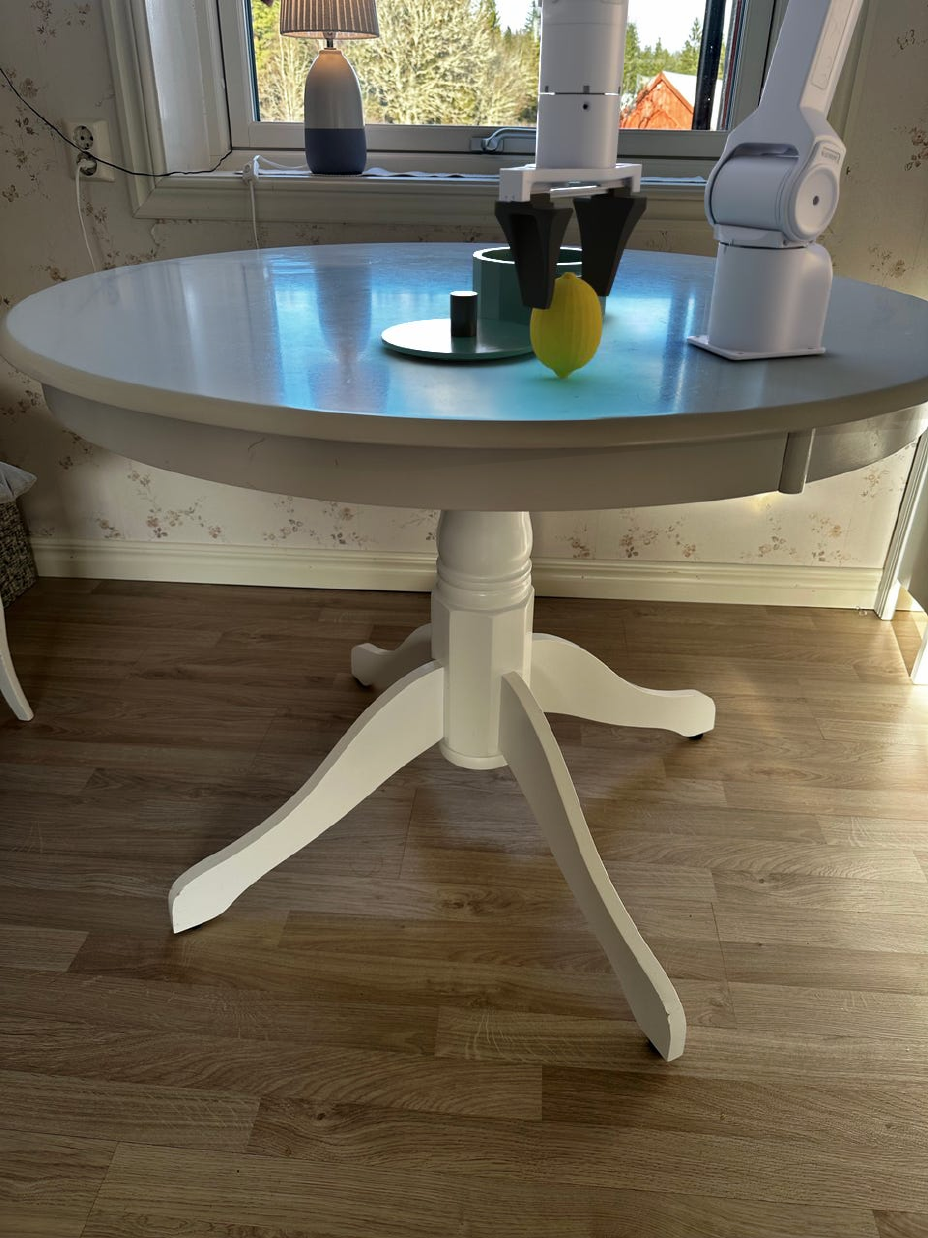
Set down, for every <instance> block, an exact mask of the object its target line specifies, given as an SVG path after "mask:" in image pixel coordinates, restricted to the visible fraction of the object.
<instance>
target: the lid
mask: <svg viewBox="0 0 928 1238" xmlns="http://www.w3.org/2000/svg"><path fill="white" fill-rule="evenodd" d="M477 299H478V294H477V293H475V292H472V291H469V290H466V291H465V290H461V291H460V290H459V291H452V292H450V294H449V318H441V319H440V318H439V319H426V320H418V321H417V320H416V321H412V322H405V323H401V324H398V325H393V326H391V327H389V328H387V329H385V330H384V331H383V332H382V333H381V343H382V344H383V346H385V347H387V348H388V349H390V350H393V351H396V352H399V353H402V354H406V355H411V356H417V357H421V358H425V359H429V360H430V359H432V360H439V361H450V362H478V361H481V362H482V361H491V360H499V359H505V358H509V357H514V356H520V355H525V354H528V353H532V352H534V350H533V347H532V343H531V337H530V326H526V325H523V324H518V323H512V322H505V321H497V320H484V319H477Z"/></svg>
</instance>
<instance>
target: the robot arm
mask: <svg viewBox="0 0 928 1238" xmlns="http://www.w3.org/2000/svg"><path fill="white" fill-rule="evenodd" d="M863 3H864V0H788V3H787V6H786V11H785V14H784V17H783V21H782V24H781V27H780V31H779V35H778V37H777V38H778V39H777V42H776V44H775V49H774V52H773V56H772V59H771V63H770V66H769V69H768V73H767V77H766V80H765V83H764V87H763V90H762V94H761V98H760V101H759V105H758V106H757V108H756V109H755V110H754V111H753V112H752V113H750V114H749V115H748V116H747V117H746V118H745V119H744V120H743V121H741V122H740V123H739V124H738V125H737V126H736V127H735V128H733V129H732V131H730V133H729V134H728V136H727V140H726V143H725V147H724V150H723V152H722V154H721V157H720V158H719V160H718V161H717V163H716V164H715V166H714V167H713V168H712V170H711V172H710V174H709V177H708V179H707V181H706V185H705V189H704V194H703V195H704V196H703V197H704V198H703V205H704V206H703V207H704V214H705V216H706V219H707V221H708V223H709V225H710V226H711V227H712V228H713V229H714V231H713V236H712V237H713V239H714V240H718V241H719V242H718V247H717V255H716V262H715V263H716V264H715V271H714V279H713V285H712V294H711V302H710V310H709V315H708V316H709V318H708V323H707V324H708V325H707V332H706V334H702V335H701V334H700V335H689V336H687V337H686V342H687V343H689V344H692V345H694V346H697V347H699V348H701V349H704V350H707V351H709V352H712V353H715V354H717V355H719V356H721V357H724V358H727V359H729V360H732V361H740V360H741V361H742V360H755V359H768V358H769V359H770V358H782V357H795V356H807V355H820V354H821V355H822V354H825V353H826V347H824V346H821V344H822V343H821V342H822V338H823V333H824V327H825V322H826V317H827V312H828V308H829V307H828V306H829V301H830V296H831V291H832V290H831V289H832V286H833V279H834V278H833V277H834V275H833V274H834V271H833V270H834V269H833V262H832V258H831V255H830V253H829V251H828V250H827V249H826V248H825V247H824V246H823V245H822V244H820V243H818V242H816V241H817V238H818V237H820V235H822V233H823V232H824V231H825V230H826V229H827V228H828V226H829V224H830V223H831V221H832V219H833V217H834V215H835V213H836V210H837V207H838V203H839V199H840V181H841V171H842V166H843V163H844V159H845V157H846V154H847V147H846V146H845V144H844V142H843V141H842V139H841V138H840V137H839V135H838V133H837V132H836V131H835V130H834V128H833V127H832V125H831V124H830V123H829V121H828V119H827V118H828V115H829V111H830V108H831V105H832V102H833V98H834V95H835V92H836V89H837V85H838V83H839V80H840V76H841V73H842V69H843V67H844V63H845V60H846V57H847V53H848V50H849V47H850V44H851V41H852V37H853V35H854V31H855V28H856V25H857V22H858V19H859V16H860V15H859V14H860V13H861V10H862V6H863ZM537 7H538V8H540V13H541V23H540V48H539V49H540V50H539V69H538V72H539V73H538V93H537V94H538V97H537V116H536V117H537V119H536V142H535V143H536V144H535V163H531V164H525V165H524V166H518V167H509V168H507V167H506V168H499V184H498V185H499V186H498V188H499V189H498V199H495V200H494V206H493V209H494V210H493V214H494V216H495V218H496V220H497V222H498V224H499V226H500V228H501V230H502V233H503V234H504V237H505V240H506V242H507V244H508V247H510V250H511V253H512V256H513V260H514V264H515V268H516V272H517V277H518V282H519V287H520V293H521V298H522V303H523V306H524V307H530V308H536V309H542V310H545V309H550V306H551V303H552V299H553V295H554V287H555V279H556V271H557V263H558V257H559V253H560V248H562V244H563V240H564V237H565V235H566V231H567V228H568V226H569V223H570V221H571V218H572V216H573V214H574V211H575V214H576V219H577V223H578V224H577V225H578V231H579V238H580V249H581V280H583V281H585V282H586V283H588V284H589V285H590V286H591V287H592V288H593V290H594V291H595V292H596V294H597V296H601V297H606V298H607V297H609V296H610V293H611V291H612V288H613V285H614V282H615V280H616V279H615V278H616V275H617V272H618V269H619V266H620V262H621V260H622V257H623V254H624V251H625V249H626V246H627V244H628V242H629V239H630V237H631V235H632V233H633V231H634V230H635V228H636V226H637V224H638V223H639V221H640V219H641V217H642V216H643V214H644V213H645V212H646V210H647V205H648V197H647V195H646V196H645V195H634V194H631V193H640V191H641V182H642V169H643V164H641V163H621V162H620V163H618V162H617V158H618V157H617V156H618V146H619V145H618V144H619V133H620V122H621V121H620V119H621V108H622V107H621V106H622V93H623V92H622V91H623V83H624V82H623V80H624V67H625V55H626V44H627V31H628V19H629V7H630V0H537ZM570 183H579V184H581V185H582V184H583V185H585V184H586V185H587V184H588V185H590V186H576V187H570ZM591 185H592V186H591ZM567 197H572V204H573V208H572V207H566V206H556V205H555V201H551V199H556V198H567Z"/></svg>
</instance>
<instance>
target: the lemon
mask: <svg viewBox="0 0 928 1238" xmlns="http://www.w3.org/2000/svg"><path fill="white" fill-rule="evenodd" d="M602 334H603V320H602V312H601V306H600V302H599V299H598V296H597V294H596V292H595V291H594V290H593V288H592V287H591V286H590V285H589V284H588V283H586V282H585V281H583V280H581V279H579V278H577V277H576V275H575V274H574V273H572V272H566V273H564V274H563V276H562V277H560V278H557V279H555V287H554V295H553V299H552V303H551V306H550V309H545V310H542V309H536V308H533V311H532V315H531V321H530V337H531V343H532V347H533V350H534V351H533V353H534V354H535V356H536V358H537V359H538V361H539V362H540V363H541V364H542V365H543V366H544V367H546V368H547V369H550V370H551V371H553V372H554V374H555V376H557V377H558V379H562V380H566V379H568V378H569V377H570V376H571V375H572V374H573V372H575V371H577V370H580V369H582V368H583V367H585V366H586V365H587V364H588V363H589V362H590V361H591V360H593V358H594V356H595V355H596V354H597V351H598V349H599V347H600V344H601V340H602Z"/></svg>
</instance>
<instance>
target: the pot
mask: <svg viewBox="0 0 928 1238" xmlns="http://www.w3.org/2000/svg"><path fill="white" fill-rule="evenodd" d="M566 272H572V273H574V274H575V275H576V277H577V278H579V279H581V248H575V247H574V248H573V247H561V248H560V253H559V257H558V263H557V271H556V279H557V278H560V277H562V276H563V274H564V273H566ZM471 290H472V291H471V292H475V293H477V294H478V299H477V319H484V320H497V321H505V322H512V323H518V324H523V325H526V326H530V321H531V315H532V311H533V308H530V307H524V306H523V303H522V298H521V293H520V287H519V282H518V277H517V272H516V268H515V264H514V260H513V256H512V253H511V250H510V247H509V246H508V247H507V246H506V247H496V248H495V247H494V248H487V249H482V250H478V251H475V252H474V253H473V254H472V289H471ZM598 299H599V302H600V306H601V312H602V321H603V320H604V319H605V315H606V308H607V307H606V305H607V297H601V296H598Z"/></svg>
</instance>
